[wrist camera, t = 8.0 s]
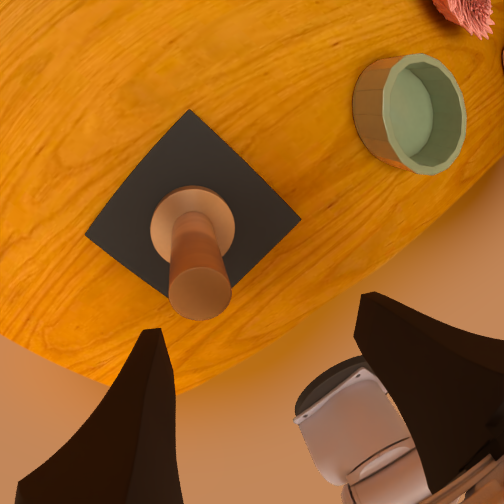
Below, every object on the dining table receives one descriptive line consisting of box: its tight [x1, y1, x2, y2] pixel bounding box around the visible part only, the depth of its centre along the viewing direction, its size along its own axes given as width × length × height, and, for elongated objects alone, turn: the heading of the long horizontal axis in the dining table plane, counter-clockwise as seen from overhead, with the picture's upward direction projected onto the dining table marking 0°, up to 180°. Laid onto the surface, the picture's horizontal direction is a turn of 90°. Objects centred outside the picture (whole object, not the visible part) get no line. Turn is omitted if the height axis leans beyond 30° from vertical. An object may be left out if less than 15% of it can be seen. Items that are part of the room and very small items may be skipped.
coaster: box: [85, 109, 301, 298], centre depth 19 cm, size 10×10×1 cm
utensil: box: [150, 186, 235, 320], centre depth 15 cm, size 5×5×8 cm
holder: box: [353, 53, 467, 175], centre depth 17 cm, size 8×8×4 cm
